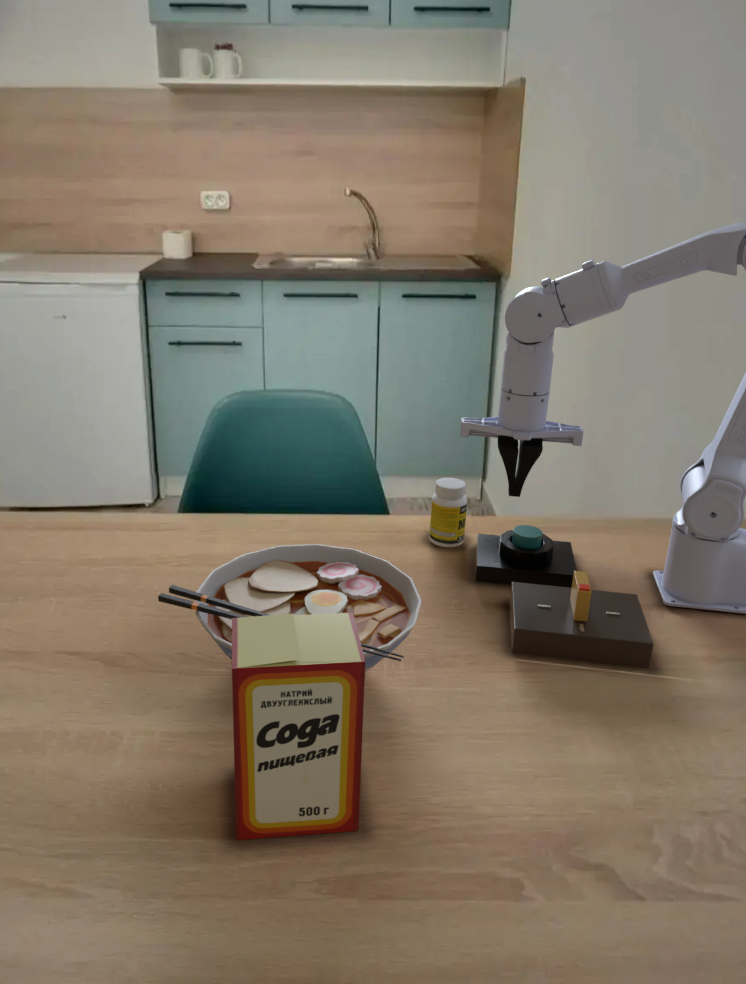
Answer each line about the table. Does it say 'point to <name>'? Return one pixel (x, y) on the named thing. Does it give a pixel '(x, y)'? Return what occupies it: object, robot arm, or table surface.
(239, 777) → the baking soda box
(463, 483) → the supplement bottle
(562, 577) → the block
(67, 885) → the table surface
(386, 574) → the ramen bowl
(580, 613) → the lock knob
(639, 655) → the lock plate
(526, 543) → the bell button
